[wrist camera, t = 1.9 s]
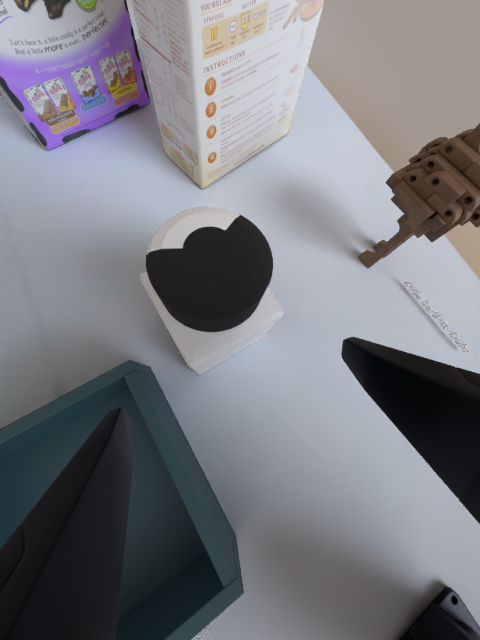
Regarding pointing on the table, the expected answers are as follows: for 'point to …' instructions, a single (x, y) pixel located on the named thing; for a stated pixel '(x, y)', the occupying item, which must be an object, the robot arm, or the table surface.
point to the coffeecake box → (224, 75)
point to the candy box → (69, 65)
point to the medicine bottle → (211, 284)
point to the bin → (135, 503)
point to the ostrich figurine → (435, 197)
